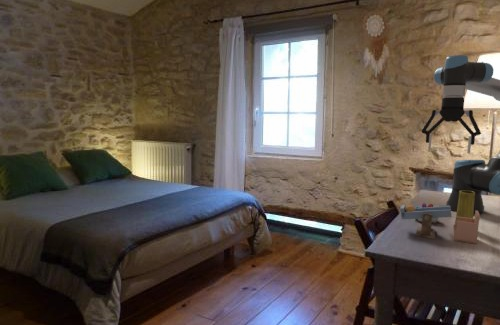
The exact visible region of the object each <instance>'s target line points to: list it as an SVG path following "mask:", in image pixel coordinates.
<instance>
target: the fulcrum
mask: <svg viewBox="0 0 500 325" xmlns="http://www.w3.org/2000/svg"><path fill="white" fill-rule="evenodd" d="M432 224H433V223H432V214H428V213H423V217H422V222H421V225H420V226H419V225H418V226H417V229H416V233H415V236H416V237H417V238H418V237H419V238H426V239H432V240H436V228H433V227H432Z"/></svg>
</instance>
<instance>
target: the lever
mask: <svg viewBox="0 0 500 325" xmlns="http://www.w3.org/2000/svg"><path fill="white" fill-rule="evenodd" d="M406 206H407V205H406V204H402V205H401V207H399V209H400V216H401V220H417V219H420V218H422V217H423V213H428V214H432V218H438V219H440V218H452V210H451V207H450V205H446V204H445V205H439V206H433V207H428V206H427V207H426V208H422V207H419V208H416V207H414V208H415V211H413V212H406V211H405V208H406Z"/></svg>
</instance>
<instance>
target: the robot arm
mask: <svg viewBox="0 0 500 325" xmlns="http://www.w3.org/2000/svg"><path fill="white" fill-rule="evenodd" d="M493 75H494V67H493V65H492V64H491V63H488V62H484V61H481V62H477V61H469V57H468V55H465V54H461V55H460V54H455V55H449V56H447V57H446V58H445V62H444V66H441V67H438V68H436V70H435V71H434V74H433V80H434V81H435V83H436V84H437V85H442V94H441V96H442V97H443V98H441V109H440V110H438V109H437V110H436V109H433V110H432V111H431V115H430V117H429V118H428V119H427V122H426V124H424V127H423V128H422V129H421V133H422V134H425V135H426V136H425V143H427V144H428V149H427V150H428V152H429V153H430V152H431V150H432V149H431V148H432V134H431V133H432V132H434V130H436V128H438V127H439V126H440V125H441V124H442V123H443V122H454V123H455V122H459V123H460V124H461V125H462V126H463V128H465V130H466V131H467V132H468V133H469V134H470V135H468V139H467V140H468V142H467V149H466V151H467V152H466V154H468V155H470V154H471V146H473V145H475V139H476V137H477V136H479V135H482V132H481V130H480V128H479V125H478V123H477V122H476V119H475V118H474V114H473V113H474V112H473V110H472V109H469V110H464V105H465V98H464V97H465V96H466V94H465V93H466V90H468V91H471V92H475V93H479V94H482V95H486V96H490V97H493V98H494V99H495V100H496V101H498V102H500V79H498V78H495V77H493ZM437 115H440V116H441V118H440V119H439V120H438V121H437V122H436V123H435V124H433V126H431V127H430V129H428V128H429V126H430V124H431V123H432V121H433V120H434V118H435V116H437ZM464 115H466V116H467V117H468V118H469V121H470V122H471V124H472V126H473V129H474V131H473V130H472V129H471V127H470V126H469V125H468V124H467V123H466V122H465V120H464V119H463V118H462V117H463V116H464ZM427 129H428V130H427ZM451 185H452V186H451V187H452V188H451V192H450V195H449V196H448V200H447V201H446V203H445V206H446V205H450V207H451V211H453V212H457V206H458V199H459V191H460V190H466V191H473V192H475V201H474V212H473V215H475V210H476V211H478V212H479V215H480V214H484V213H485V205H484V201H483V197H482V192H484V193H485V192H486V193H489V194H493V195H497V196H500V150H499V151H498V153H497V154H496V155H495V156H492V157H490V159H489V161H488V163H486V160H484V159H458V160H456V161H455V162H454V167H453V177H452V184H451Z"/></svg>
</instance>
